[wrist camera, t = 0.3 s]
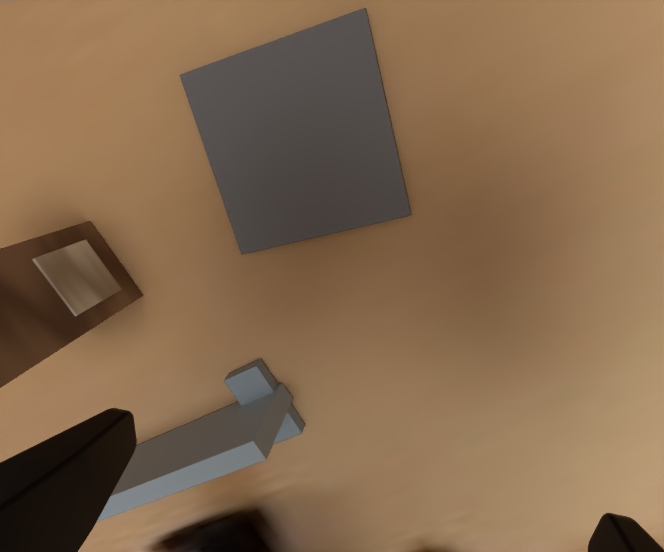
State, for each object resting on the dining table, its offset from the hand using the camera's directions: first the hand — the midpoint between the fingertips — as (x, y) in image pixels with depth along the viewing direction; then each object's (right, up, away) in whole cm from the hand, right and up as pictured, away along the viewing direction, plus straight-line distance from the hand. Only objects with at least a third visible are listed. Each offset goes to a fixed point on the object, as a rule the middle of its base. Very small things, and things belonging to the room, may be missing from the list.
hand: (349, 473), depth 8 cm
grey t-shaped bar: (-11, -7, +20) cm, 24 cm away
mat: (-2, +10, +12) cm, 16 cm away
